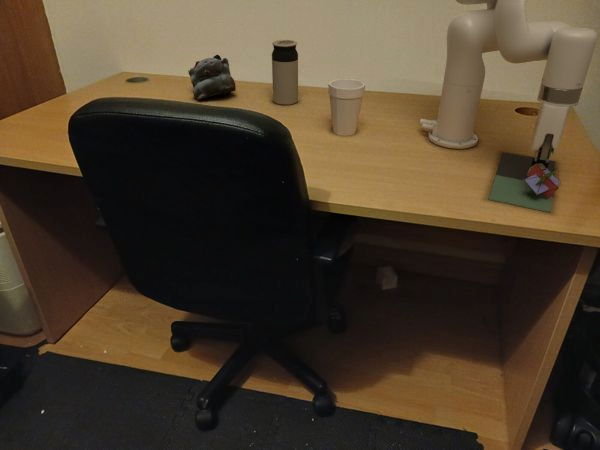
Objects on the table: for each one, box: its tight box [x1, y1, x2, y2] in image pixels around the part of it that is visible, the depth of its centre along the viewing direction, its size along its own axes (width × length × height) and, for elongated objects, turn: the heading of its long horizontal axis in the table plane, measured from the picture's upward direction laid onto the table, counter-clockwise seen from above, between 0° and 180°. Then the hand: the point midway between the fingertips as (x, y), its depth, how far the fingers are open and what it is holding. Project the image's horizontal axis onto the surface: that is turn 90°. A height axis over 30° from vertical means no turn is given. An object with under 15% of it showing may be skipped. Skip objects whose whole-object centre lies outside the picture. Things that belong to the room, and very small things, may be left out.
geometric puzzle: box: [523, 163, 562, 199], centre depth 100 cm, size 7×7×8 cm
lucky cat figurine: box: [187, 54, 237, 101], centre depth 155 cm, size 15×12×14 cm
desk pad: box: [487, 151, 556, 214], centre depth 108 cm, size 12×26×1 cm, turn 154°
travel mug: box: [271, 39, 299, 106], centre depth 148 cm, size 8×8×18 cm
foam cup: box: [328, 78, 366, 136], centre depth 128 cm, size 10×9×13 cm
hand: (536, 176), depth 105 cm, fingers closed
